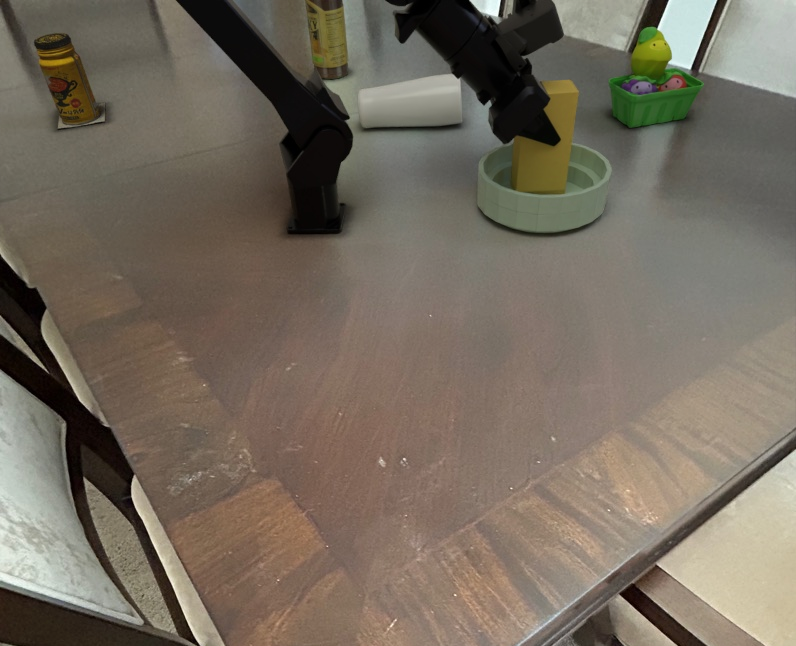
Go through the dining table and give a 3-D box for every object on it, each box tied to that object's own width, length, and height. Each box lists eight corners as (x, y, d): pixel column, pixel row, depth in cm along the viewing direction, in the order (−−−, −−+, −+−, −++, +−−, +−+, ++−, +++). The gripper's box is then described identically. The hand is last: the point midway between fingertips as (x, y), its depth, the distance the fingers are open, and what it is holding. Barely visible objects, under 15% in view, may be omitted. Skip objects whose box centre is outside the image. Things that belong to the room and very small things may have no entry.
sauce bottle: (312, 70, 120) (295, -64, 106) (347, 66, 121) (334, -67, 107) (316, 82, 116) (299, -56, 102) (351, 78, 117) (339, -60, 103)
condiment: (57, 130, 106) (24, 46, 97) (60, 111, 112) (29, 31, 103) (105, 122, 107) (76, 40, 99) (105, 104, 113) (78, 25, 105)
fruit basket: (626, 133, 95) (642, 46, 87) (596, 111, 101) (609, 28, 94) (697, 121, 97) (720, 35, 89) (664, 100, 103) (682, 18, 95)
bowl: (613, 237, 76) (622, 196, 72) (478, 238, 77) (480, 197, 73) (594, 176, 86) (600, 137, 83) (475, 178, 87) (477, 140, 84)
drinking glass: (360, 137, 98) (462, 127, 97) (354, 86, 95) (460, 74, 93) (364, 129, 104) (461, 119, 102) (359, 81, 100) (459, 70, 99)
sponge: (515, 198, 82) (524, 95, 73) (510, 183, 84) (518, 82, 76) (564, 195, 82) (579, 91, 73) (557, 180, 84) (570, 79, 76)
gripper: (538, -7, 60) (635, 112, 68) (505, -50, 73) (590, 54, 81) (449, 91, 65) (549, 191, 73) (434, 34, 79) (520, 124, 86)
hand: (553, 135), depth 78 cm, fingers closed on sponge, 4 cm apart
